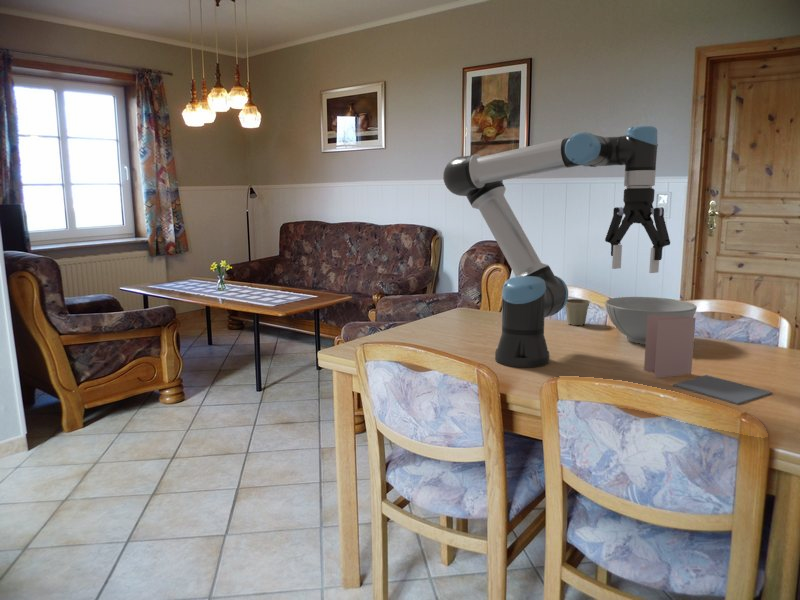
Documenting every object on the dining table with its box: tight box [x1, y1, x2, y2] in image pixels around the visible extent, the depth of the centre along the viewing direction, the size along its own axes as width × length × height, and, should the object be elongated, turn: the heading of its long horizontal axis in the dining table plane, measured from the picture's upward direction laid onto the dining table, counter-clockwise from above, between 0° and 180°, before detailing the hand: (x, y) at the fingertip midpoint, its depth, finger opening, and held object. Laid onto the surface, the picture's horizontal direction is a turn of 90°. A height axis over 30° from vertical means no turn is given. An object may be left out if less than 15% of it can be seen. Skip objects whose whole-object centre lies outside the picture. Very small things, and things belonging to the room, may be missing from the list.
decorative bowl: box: [604, 296, 697, 345], centre depth 189 cm, size 27×27×12 cm
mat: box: [672, 374, 773, 406], centre depth 142 cm, size 14×16×1 cm
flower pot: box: [564, 298, 591, 326], centre depth 215 cm, size 9×9×9 cm
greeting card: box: [643, 315, 696, 379], centre depth 152 cm, size 11×7×15 cm, turn 71°
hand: (634, 270), depth 159 cm, fingers open, 11 cm apart
